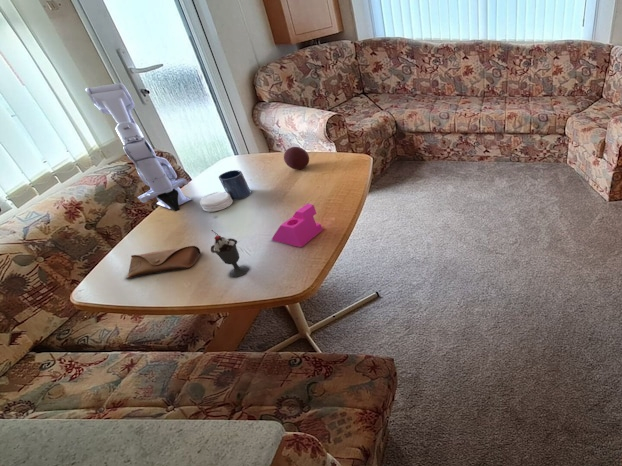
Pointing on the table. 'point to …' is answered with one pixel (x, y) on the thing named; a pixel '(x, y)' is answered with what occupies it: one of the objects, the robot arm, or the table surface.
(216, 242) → the sundae
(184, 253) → the sunglasses case
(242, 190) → the cup
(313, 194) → the table surface
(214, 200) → the white round dish
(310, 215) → the bracket
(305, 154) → the decorative ball
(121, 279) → the table surface
